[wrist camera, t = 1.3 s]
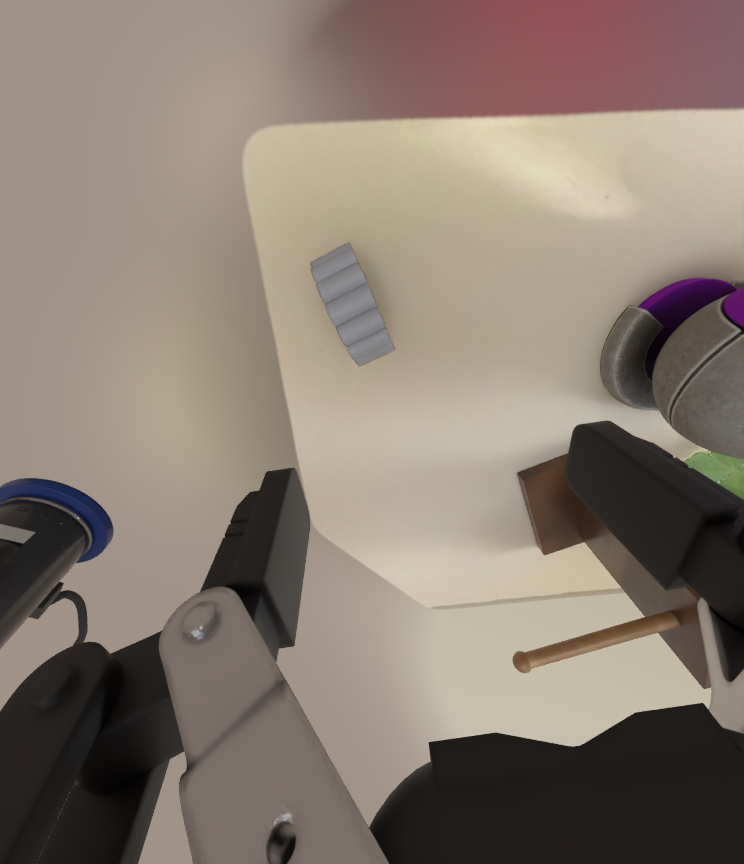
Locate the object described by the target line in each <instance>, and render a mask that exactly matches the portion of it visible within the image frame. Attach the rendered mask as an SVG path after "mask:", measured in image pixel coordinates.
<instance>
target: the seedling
mask: <svg viewBox="0 0 744 864" xmlns="http://www.w3.org/2000/svg"><path fill="white" fill-rule="evenodd" d="M711 453H712V454H713V456H714V457H715V458H716V459H715V458H714V457H712V456H710V455H707V454H705V453H696V454H694V455H693V456H692V458H691V459H688V460H687V461H686V464H687V465H688V467H689V468H694V469H695V470H697V471H699V472H700V473H702V474H703V475H705V476H707V477H708V478H710V479H711V480H713V481H715V482H716V483H717V482H719V481H721V482H720V483H719V485H721V486H723V487H724V488H726V489H727V490H729V491H731V492H732V493H734V494H735V495H737V496H738V497H740V498H742V499H743V500H744V465H743V464H744V460H743V459H738V458H733V457H729V456H726V455H722V454H719V453H715V452H712V451H711ZM718 460H719V461H718ZM742 465H743V466H742ZM727 476H728V477H727ZM726 477H727V478H726ZM724 478H725V479H724ZM723 479H724V480H723Z"/></svg>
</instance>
